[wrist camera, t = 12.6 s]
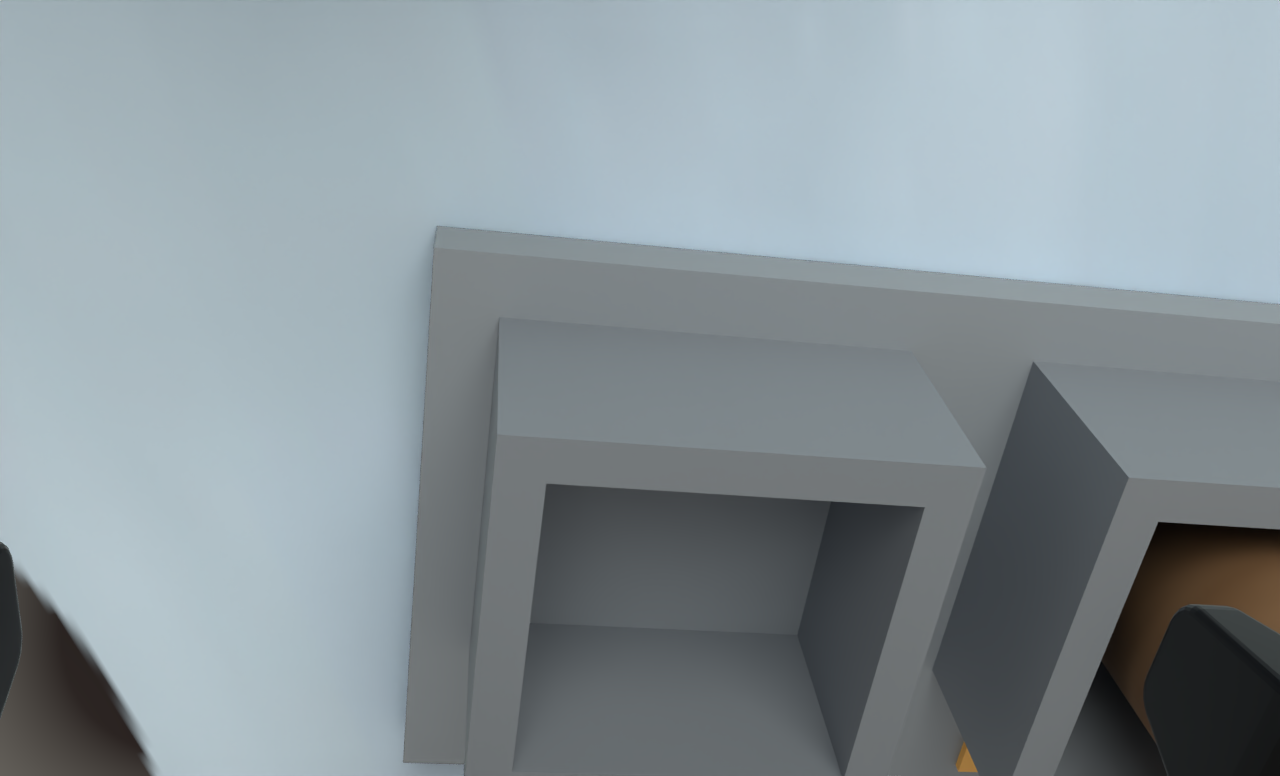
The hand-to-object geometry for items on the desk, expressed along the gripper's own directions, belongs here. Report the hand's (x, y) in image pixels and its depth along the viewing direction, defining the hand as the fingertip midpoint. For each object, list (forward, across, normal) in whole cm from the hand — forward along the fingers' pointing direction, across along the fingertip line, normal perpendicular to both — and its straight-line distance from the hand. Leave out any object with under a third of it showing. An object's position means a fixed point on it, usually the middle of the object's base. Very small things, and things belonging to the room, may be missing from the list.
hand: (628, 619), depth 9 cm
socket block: (+13, -9, +8) cm, 18 cm away
